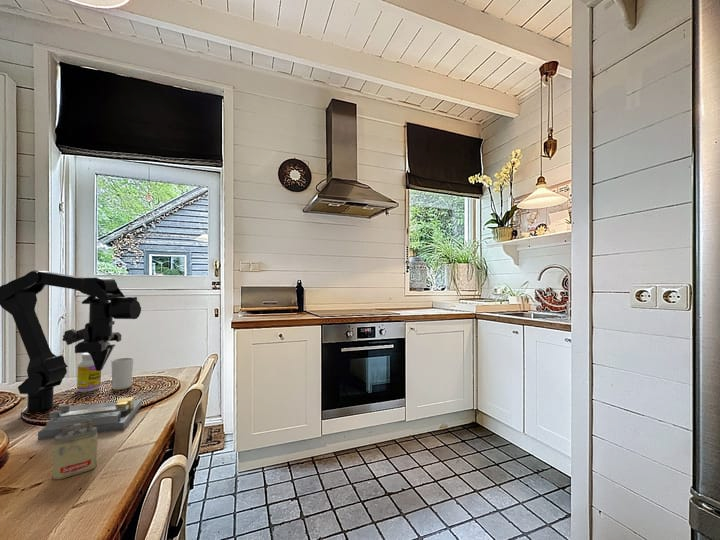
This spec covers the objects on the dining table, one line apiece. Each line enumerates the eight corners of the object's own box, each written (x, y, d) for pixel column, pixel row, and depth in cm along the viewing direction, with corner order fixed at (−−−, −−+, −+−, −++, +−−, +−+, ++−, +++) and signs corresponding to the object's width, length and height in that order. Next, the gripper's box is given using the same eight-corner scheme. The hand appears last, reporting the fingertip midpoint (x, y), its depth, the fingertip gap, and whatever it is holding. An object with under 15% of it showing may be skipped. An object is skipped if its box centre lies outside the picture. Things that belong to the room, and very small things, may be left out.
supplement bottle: (87, 393, 117) (88, 355, 118) (71, 391, 119) (72, 354, 119) (105, 387, 124) (106, 351, 124) (90, 385, 125) (91, 350, 125)
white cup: (136, 386, 126) (137, 358, 126) (115, 390, 120) (116, 362, 120) (127, 382, 129) (128, 356, 129) (107, 387, 124) (108, 359, 124)
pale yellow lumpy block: (119, 407, 100) (119, 398, 100) (133, 406, 101) (133, 397, 101) (112, 414, 94) (113, 405, 94) (127, 413, 96) (128, 403, 96)
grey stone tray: (71, 412, 101) (71, 395, 101) (141, 405, 107) (142, 389, 107) (37, 440, 84) (38, 419, 84) (123, 430, 90) (124, 410, 90)
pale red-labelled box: (52, 482, 67) (54, 431, 67) (51, 474, 70) (53, 424, 70) (97, 468, 72) (99, 420, 72) (95, 461, 75) (96, 415, 75)
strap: (54, 420, 89) (54, 416, 89) (60, 416, 92) (60, 412, 92) (125, 411, 95) (125, 407, 95) (129, 407, 98) (129, 403, 98)
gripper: (81, 315, 110) (80, 364, 109) (52, 323, 92) (50, 381, 92) (122, 315, 113) (121, 362, 113) (101, 322, 96) (99, 378, 96)
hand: (99, 370), depth 103 cm, fingers closed
